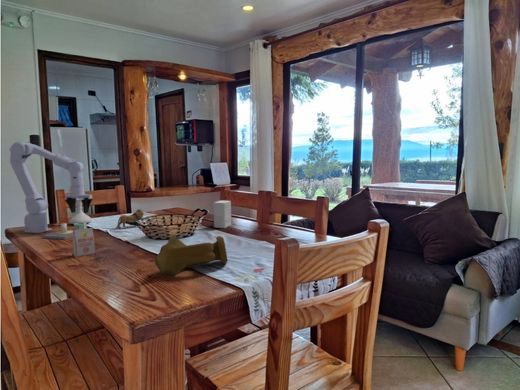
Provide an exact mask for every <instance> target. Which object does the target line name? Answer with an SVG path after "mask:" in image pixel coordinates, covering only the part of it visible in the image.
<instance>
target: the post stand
mask: <svg viewBox="0 0 520 390" xmlns="http://www.w3.org/2000/svg"><path fill="white" fill-rule="evenodd" d="M73 230H74V229H68V224H67V223H66V222H65V223H60V230H57V231H53V232H50V233H46V234H43V235H42V239H51V240H52V239H54V240H67V239H71V238H73Z"/></svg>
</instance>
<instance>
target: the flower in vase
mask: <svg viewBox="0 0 520 390" xmlns="http://www.w3.org/2000/svg"><path fill="white" fill-rule="evenodd" d="M68 192H69V193H72V191H71V185H70V186H69V189H68ZM81 200H82V199H81V198H77V199H76V212H75V214H74V215H73V216H71V218H70V219H69V220H68V223H69V224H70V225H74V224H75V223H80V222H86V223H87V224H89V223H90V222H92V220H93V219H92V218H91V217H90V216H89V215H88V214H87V213H84V211H83V204H82V202H81Z"/></svg>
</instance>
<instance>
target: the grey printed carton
mask: <svg viewBox="0 0 520 390" xmlns="http://www.w3.org/2000/svg"><path fill="white" fill-rule="evenodd" d="M72 230H73V237H72V247H73V249H72V250H73V251H72V252H73V256H74V257H75V258H81V257H86V256H91V255H95V254H96V249H95V248H96V246H95V245H96V244H95V236H94V230H93V227H89V228H88V227H87V229H80V230H74V229H72Z"/></svg>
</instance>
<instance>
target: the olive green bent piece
mask: <svg viewBox="0 0 520 390" xmlns="http://www.w3.org/2000/svg"><path fill="white" fill-rule="evenodd" d="M216 261H217V262H218V261H220V262H221V264H222V265H225V264H227V263H228V255H227V249H226V243H225V239H224V237H223V236H220V235H219V236H217V237H216V241H214V242H213V243H212V242H201V243H195V244H189V245H186V244H185V243H184V242H183V241H182V240H180V239H179V238H177V237H176V236H175V235H171V236H170V237H169V238H168V241H167V242H166V243H165V244H163V245H161V247H160V251H159V252H158V254H157V255H156V256H155V260H154V264H155V266H156V267H157V268H158V270H159V272H161V274H163V275H170V276H175V275H177V274H179V273H180V272H181V271H182V270H183V269H185V268H187V269H191V268H194V267H197V266H201V265H206V264H209V263H212V262H216ZM190 267H191V268H190Z"/></svg>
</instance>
